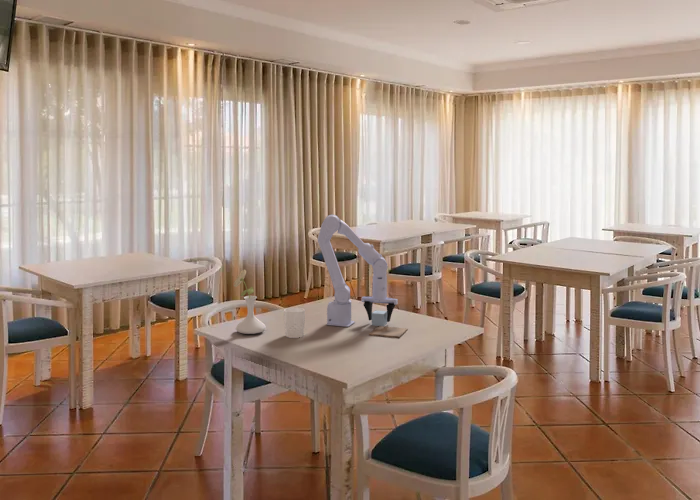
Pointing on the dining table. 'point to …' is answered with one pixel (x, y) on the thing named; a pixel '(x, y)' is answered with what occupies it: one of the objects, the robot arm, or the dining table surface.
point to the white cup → (294, 322)
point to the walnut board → (388, 331)
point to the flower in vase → (250, 322)
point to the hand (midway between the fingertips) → (379, 320)
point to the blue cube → (379, 318)
